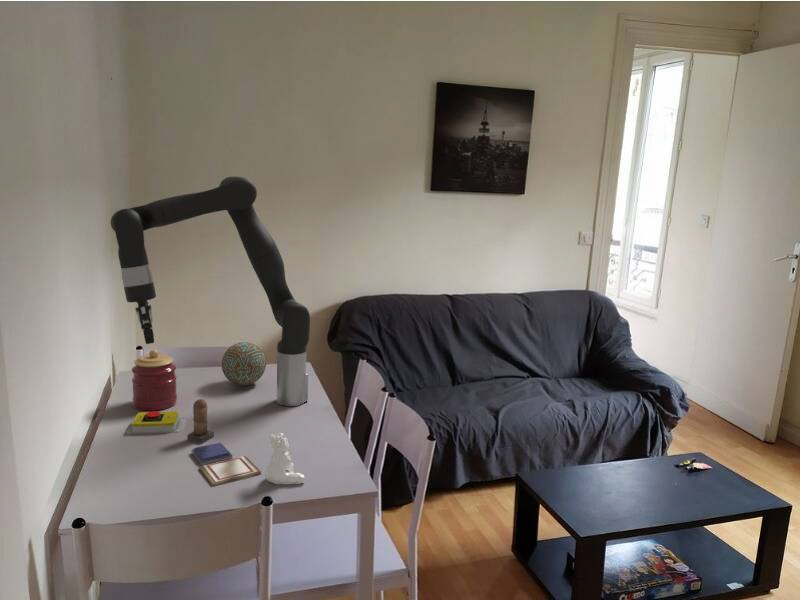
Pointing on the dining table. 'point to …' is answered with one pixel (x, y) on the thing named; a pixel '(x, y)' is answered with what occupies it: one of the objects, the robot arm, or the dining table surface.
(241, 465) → the framed board
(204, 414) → the stamp
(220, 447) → the ink pad
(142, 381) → the canister
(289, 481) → the seated beast figurine
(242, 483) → the dining table surface
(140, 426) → the emergency button
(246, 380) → the decorative sphere
